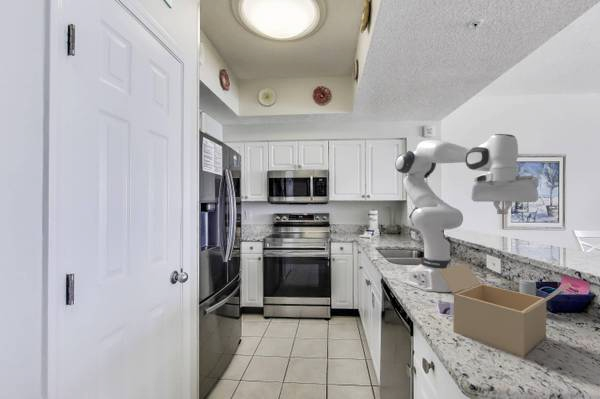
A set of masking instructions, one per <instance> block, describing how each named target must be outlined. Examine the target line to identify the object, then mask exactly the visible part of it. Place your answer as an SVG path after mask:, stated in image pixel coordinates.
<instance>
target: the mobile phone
mask: <svg viewBox="0 0 600 399" xmlns="http://www.w3.org/2000/svg"><path fill="white" fill-rule="evenodd" d="M436 305H437V312H438V315H439V316H443V317H449V318H454V302H449V301H442V300H438V301H437V302H436Z"/></svg>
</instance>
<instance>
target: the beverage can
mask: <svg viewBox="0 0 600 399" xmlns="http://www.w3.org/2000/svg"><path fill="white" fill-rule="evenodd" d="M518 282H519V285H518V286H519V287H518V288H519V291H518V292H520V293H524V294H528V295H533V296H537V283H536V281H535V280H533V279H532V280H531V279H526V278H520V279H519V281H518Z"/></svg>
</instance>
